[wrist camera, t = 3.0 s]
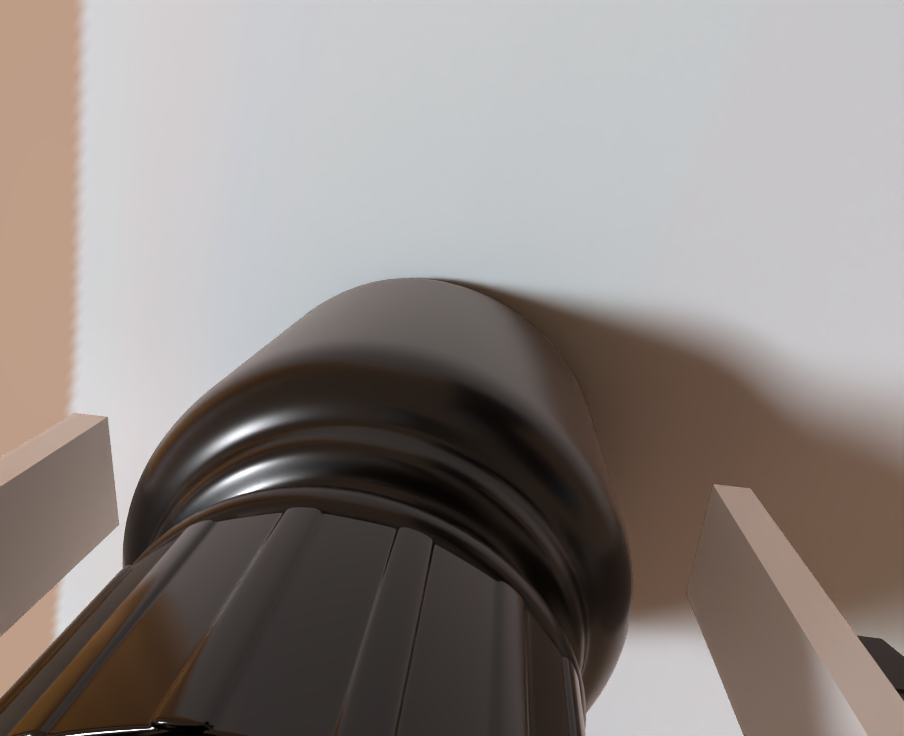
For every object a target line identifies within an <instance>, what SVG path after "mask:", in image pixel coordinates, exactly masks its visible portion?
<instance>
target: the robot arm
mask: <svg viewBox="0 0 904 736" xmlns="http://www.w3.org/2000/svg"><path fill="white" fill-rule="evenodd" d="M118 525H119V520H118V510H117V501H116V492H115V482H114V473H113V464H112V454H111V445H110V436H109V426H108V417H104V416H95V415H86V414H77V413H74V414H72V415H70V416H68V417H67V418H65V419H63V420H62V421H60V422H58V423H57V424H55V425H53V426H52V427H50V428H48V429H47V430H45V431H43V432H41V433H40V434H38V435H36V436H35V437H33V438H31V439H30V440H28V441H26V442H25V443H23V444H21V445H20V446H18V447H16V448H15V449H13V450H11V451H10V452H8V453H6V454H4V455H3V456H1V457H0V637H1V636H2V635H3V634H4V633H5V632H6V631H7V630H8V629H9V628H10V627H11V626H12V625H13V624H14V623H16V622H17V621H18V620H19V619H20V618H21V617H22V616H23V615H24V614H25V613H26V612H27V611H28V610H29V609H30V608H31V607H33V606H34V605H35V604H36V603H37V602H38V601H39V600H40V599H41V598H42V597H43V596H44V595H45V594H46V593H47V592H48V591H49V590H51V588H53V586H55V585H56V584H57V583H58V582H59V581H60V580H61V579H62V578H63V577H64V576H65V575H66V574H67V573H68V572H70V571H71V570H72V569H73V568H74V567H75V566H76V565H77V564H78V563H79V562H80V561H81V560H82V559H83V558H84V557H85V556H86V555H88V554H89V553H90V552H91V551H92V550H93V549H94V548H95V547H96V546H97V545H98V544H99V543H100V542H101V541H102V540H103V539H104V538H105V537H107V536H108V535H109V534H110V533H111V532H112V531H113V530H114V529H115V528H116V527H117V526H118ZM687 596H688V598H689V601H690V603H691V606H692V608H693V611H694V613H695V616H696V618H697V621H698V623H699V626H700V628H701V631H702V633H703V636H704V638H705V641H706V643H707V645H708V648H709V650H710V653H711V655H712V658H713V660H714V663H715V665H716V668H717V670H718V673H719V675H720V678H721V680H722V683H723V685H724V688H725V690H726V693H727V695H728V698H729V700H730V703H731V705H732V708H733V710H734V713H735V715H736V717H737V720H738V722H739V725H740V727H741V730H742V732H743V735H744V736H904V656H902V655H901V654H900V653H899V652H897V651H896V650H895V649H894V648H892V647H891V646H890V645H889V644H887V643H886V642H885V641H884V640H882V639H879V638H871V637H863V636H856V634H855V633H854V631H853V630H852V629H851V627H850V626H849V624H848V623H847V622H846V620H845V619H844V618H843V616H842V615H841V613H840V612H839V611H838V609H837V608H836V606H835V605H834V604H833V602H832V601H831V600H830V598H829V597H828V595H827V594H826V593H825V591H824V590H823V588H822V587H821V586H820V584H819V583H818V581H817V580H816V579H815V577H814V576H813V575H812V573H811V572H810V570H809V569H808V568H807V566H806V565H805V563H804V562H803V561H802V559H801V558H800V557H799V555H798V554H797V552H796V551H795V550H794V548H793V547H792V545H791V544H790V543H789V541H788V540H787V538H786V537H785V536H784V534H783V533H782V532H781V530H780V529H779V527H778V526H777V525H776V523H775V522H774V520H773V519H772V518H771V516H770V515H769V514H768V512H767V511H766V509H765V508H764V507H763V505H762V504H761V502H760V501H759V500H758V498H757V497H756V496H755V494H754V493H753V491H752V490H751V489H750V488H744V487H734V486H725V485H716V484H713V485H712V490H711V494H710V498H709V502H708V506H707V510H706V514H705V519H704V523H703V527H702V531H701V535H700V539H699V544H698V548H697V552H696V556H695V560H694V564H693V568H692V573H691V577H690V581H689V585H688V589H687Z"/></svg>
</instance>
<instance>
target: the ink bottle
mask: <svg viewBox="0 0 904 736" xmlns="http://www.w3.org/2000/svg"><path fill="white" fill-rule="evenodd" d="M632 596H633V577H632V564H631V557H630V550H629V545H628V540H627V536H626V532H625V528H624V524H623V521H622V517H621V514H620V511H619V507H618V504H617V501H616V497H615V494H614V491H613V488H612V484H611V481H610V478H609V475H608V471H607V468H606V465H605V461H604V458H603V455H602V452H601V448H600V445H599V442H598V439H597V435H596V432H595V429H594V425H593V422H592V419H591V416H590V412H589V409H588V406H587V403H586V400H585V398H584V395H583V393H582V390H581V388H580V386H579V384H578V382H577V380H576V378H575V376H574V374H573V373H572V371H571V369H570V368H569V366H568V365H567V363H566V361H565V360H564V359H563V357H562V356H561V355H560V353H559V352H558V351H557V350H556V348H555V347H554V346H553V345H552V344H551V343H550V341H549V340H548V339H547V338H546V337H545V336H544V335H543V334H542V333H541V332H540V331H539V330H538V329H537V328H535V327H534V326H533V325H532V324H531V323H530V322H528V321H527V320H526V319H525V318H523V317H522V316H520V315H519V314H518V313H516V312H515V311H513V310H512V309H510V308H509V307H507V306H505V305H504V304H502V303H500V302H498V301H496V300H494V299H492V298H490V297H488V296H486V295H484V294H482V293H479V292H477V291H474V290H471V289H469V288H466V287H463V286H459V285H456V284H452V283H448V282H443V281H438V280H431V279H421V278H398V279H388V280H382V281H377V282H372V283H368V284H365V285H361V286H358V287H355V288H353V289H350V290H348V291H345V292H343V293H341V294H339V295H337V296H334V297H333V298H331V299H329V300H327V301H325V302H324V303H322V304H320V305H319V306H317V307H316V308H314V309H313V310H311V311H310V312H309V313H307V314H306V315H305V316H303V317H302V318H301V319H300V320H298V321H297V322H296V323H294V324H293V325H292V326H291V327H289V328H288V329H287V330H285V331H284V332H283V333H282V334H280V335H279V336H278V337H276V338H275V339H274V340H273V341H271V342H270V343H269V344H268V345H266V346H265V347H264V348H262V349H261V350H260V351H259V352H257V353H256V354H255V355H253V356H252V357H251V358H250V359H248V360H247V361H246V362H244V363H243V364H242V365H241V366H239V367H238V368H237V369H236V370H234V371H233V372H232V373H230V374H229V375H228V376H227V377H225V378H224V379H223V380H221V381H220V382H219V383H218V384H216V385H215V386H214V387H213V388H211V389H210V390H209V391H208V392H207V393H205V394H204V395H203V396H202V397H201V398H200V399H198V400H197V401H196V402H195V403H194V404H193V405H192V406H191V407H190V408H189V409H188V410H187V411H186V412H185V413H184V414H183V415H182V416H181V417H180V418H179V420H178V421H177V422H176V423H175V424H174V425H173V427H172V428H171V429H170V430H169V431H168V433H167V434H166V435H165V437H164V438H163V439H162V441H161V442H160V444H159V445H158V447H157V448H156V450H155V451H154V453H153V455H152V456H151V458H150V460H149V462H148V463H147V465H146V467H145V469H144V471H143V473H142V475H141V478H140V480H139V482H138V485H137V487H136V490H135V493H134V495H133V498H132V502H131V505H130V508H129V513H128V517H127V521H126V527H125V534H124V542H123V569H122V570H121V571H120V572H119V573H118V574H117V575H116V576H115V577H114V578H113V579H112V580H111V581H110V582H109V583H108V584H107V585H106V586H105V587H104V589H103V590H102V591H101V592H100V593H99V594H98V595H97V596H96V597H95V598H94V599H93V600H92V601H91V602H90V603H89V605H88V606H87V607H86V608H85V609H84V610H83V611H82V612H81V613H80V614H79V615H78V616H77V617H76V618H75V619H74V620H73V622H72V623H71V624H70V625H69V626H68V627H67V628H66V629H65V630H64V631H63V632H62V633H61V634H60V635H59V636H58V638H57V639H56V640H55V641H54V642H53V643H52V644H51V645H50V646H49V647H48V648H47V649H46V650H45V651H44V653H43V654H42V655H41V656H40V657H39V658H38V659H37V660H36V661H35V662H34V663H33V664H32V665H31V666H30V667H29V668H28V670H27V671H26V672H25V673H24V674H23V675H22V676H21V677H20V678H19V679H18V680H17V681H16V682H15V683H14V684H13V686H12V687H11V688H10V689H9V690H8V691H7V692H6V693H5V694H4V695H3V696H2V697H1V698H0V736H586V733H585V727H586V713H587V712H588V710H589V709H590V708H591V706H592V705H593V704H594V702H595V701H596V699H597V698H598V697H599V695H600V694H601V692H602V690H603V689H604V687H605V685H606V684H607V682H608V680H609V678H610V676H611V674H612V672H613V670H614V668H615V666H616V664H617V661H618V659H619V656H620V654H621V651H622V648H623V645H624V642H625V639H626V635H627V631H628V626H629V621H630V616H631V608H632Z"/></svg>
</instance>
